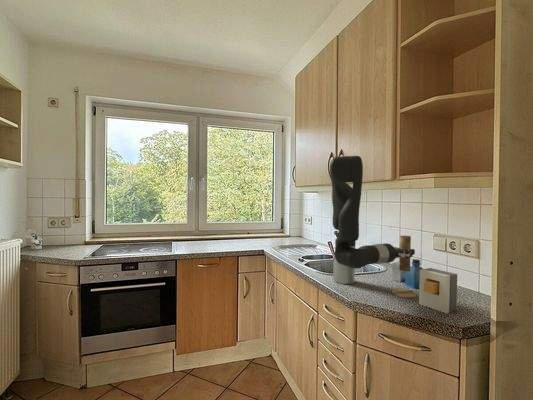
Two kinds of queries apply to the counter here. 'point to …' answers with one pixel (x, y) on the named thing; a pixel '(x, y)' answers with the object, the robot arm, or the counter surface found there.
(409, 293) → the stand
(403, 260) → the brown wooden cylinder
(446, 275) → the box
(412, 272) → the perfume bottle
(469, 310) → the counter surface
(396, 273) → the medicine box
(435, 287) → the button
